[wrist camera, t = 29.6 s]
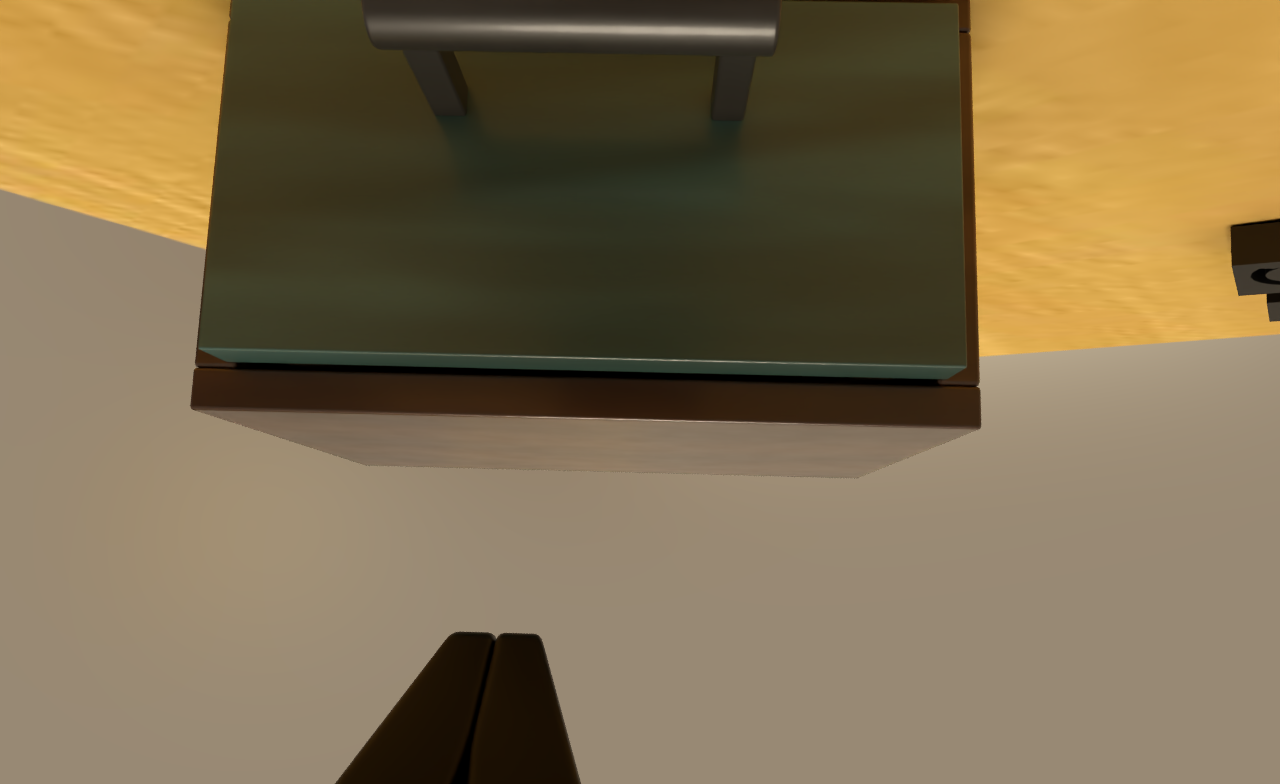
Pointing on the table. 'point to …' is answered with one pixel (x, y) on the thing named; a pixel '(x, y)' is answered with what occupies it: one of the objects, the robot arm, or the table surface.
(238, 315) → the drawer
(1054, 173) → the table surface
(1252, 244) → the black small parts set
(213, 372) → the cabinet
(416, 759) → the robot arm
